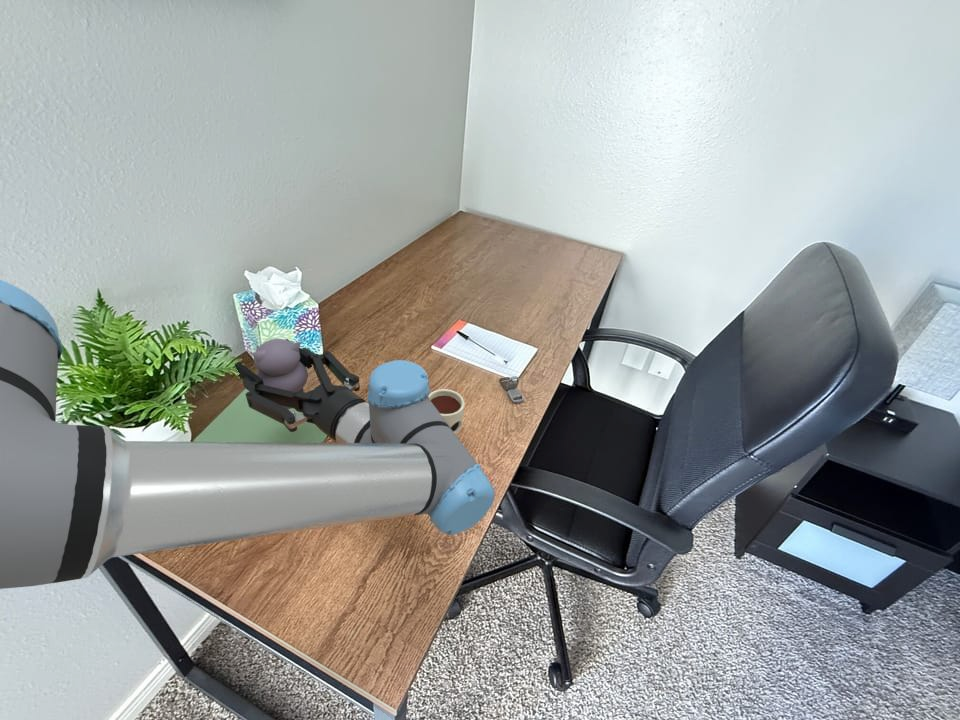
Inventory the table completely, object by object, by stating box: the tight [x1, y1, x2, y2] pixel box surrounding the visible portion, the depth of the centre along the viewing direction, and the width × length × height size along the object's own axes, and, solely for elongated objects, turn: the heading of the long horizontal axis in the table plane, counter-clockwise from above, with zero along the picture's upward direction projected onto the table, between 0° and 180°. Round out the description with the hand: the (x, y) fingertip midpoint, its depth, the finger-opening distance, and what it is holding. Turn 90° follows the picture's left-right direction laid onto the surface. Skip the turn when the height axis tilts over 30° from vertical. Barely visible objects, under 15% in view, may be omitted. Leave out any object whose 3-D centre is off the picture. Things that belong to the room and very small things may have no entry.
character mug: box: [428, 388, 465, 436], centre depth 88 cm, size 11×7×13 cm, turn 164°
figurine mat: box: [192, 388, 329, 443], centre depth 92 cm, size 22×18×1 cm
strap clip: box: [498, 375, 525, 404], centre depth 106 cm, size 8×3×4 cm, turn 21°
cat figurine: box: [250, 338, 309, 409], centre depth 79 cm, size 8×8×12 cm
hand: (263, 356), depth 80 cm, fingers closed on cat figurine, 8 cm apart
